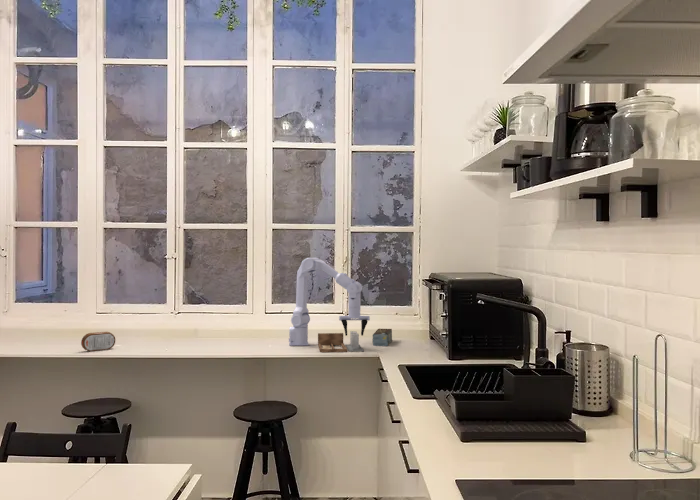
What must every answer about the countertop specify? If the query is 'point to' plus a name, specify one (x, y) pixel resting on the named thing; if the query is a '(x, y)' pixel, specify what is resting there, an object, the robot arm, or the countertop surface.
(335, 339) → the rack
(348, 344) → the mat
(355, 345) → the shiny grey metal block
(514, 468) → the countertop surface
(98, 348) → the tin
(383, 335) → the beverage carton
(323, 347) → the offcut top
